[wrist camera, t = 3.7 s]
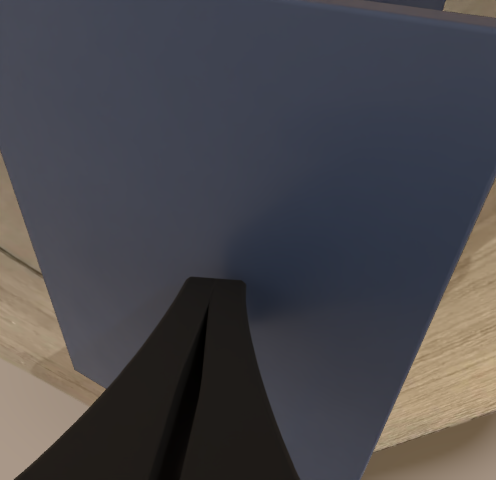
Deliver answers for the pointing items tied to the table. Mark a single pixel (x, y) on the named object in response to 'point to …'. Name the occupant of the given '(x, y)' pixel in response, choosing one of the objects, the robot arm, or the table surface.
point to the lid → (254, 184)
